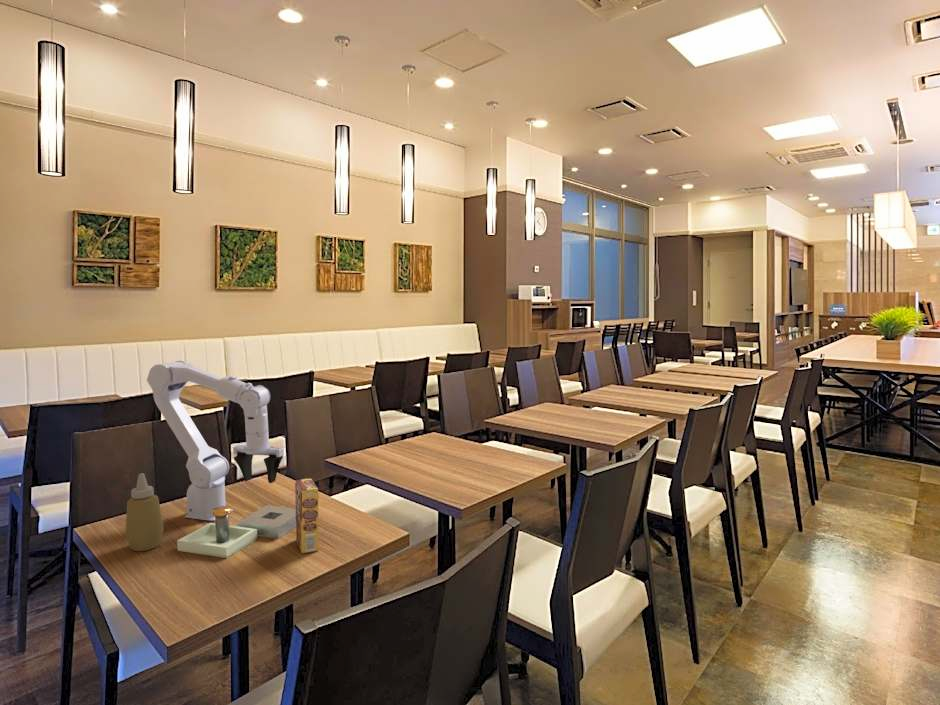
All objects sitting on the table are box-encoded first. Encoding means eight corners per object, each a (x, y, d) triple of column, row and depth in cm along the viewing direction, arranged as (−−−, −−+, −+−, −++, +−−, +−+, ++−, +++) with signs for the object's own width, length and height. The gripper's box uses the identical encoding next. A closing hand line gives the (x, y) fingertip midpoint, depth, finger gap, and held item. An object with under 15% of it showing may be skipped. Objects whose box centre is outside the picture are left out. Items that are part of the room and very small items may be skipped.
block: (237, 533, 145) (237, 521, 145) (267, 515, 156) (266, 505, 156) (278, 538, 141) (278, 527, 141) (305, 520, 153) (305, 509, 153)
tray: (177, 550, 135) (177, 540, 135) (210, 532, 145) (210, 522, 145) (226, 558, 131) (226, 547, 131) (257, 538, 141) (257, 529, 141)
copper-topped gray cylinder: (209, 542, 138) (208, 510, 137) (222, 536, 142) (221, 504, 141) (223, 545, 136) (222, 513, 135) (235, 538, 140) (234, 507, 139)
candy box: (320, 550, 135) (318, 488, 133) (301, 554, 133) (300, 491, 131) (313, 536, 143) (311, 477, 141) (295, 539, 141) (293, 480, 139)
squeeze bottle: (118, 551, 135) (113, 477, 133) (147, 537, 142) (143, 467, 140) (143, 556, 132) (138, 481, 130) (172, 542, 139) (168, 471, 138)
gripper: (224, 433, 150) (227, 483, 152) (271, 436, 146) (273, 487, 148) (241, 427, 157) (244, 475, 158) (287, 430, 153) (289, 479, 154)
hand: (260, 480), depth 153 cm, fingers open, 7 cm apart
